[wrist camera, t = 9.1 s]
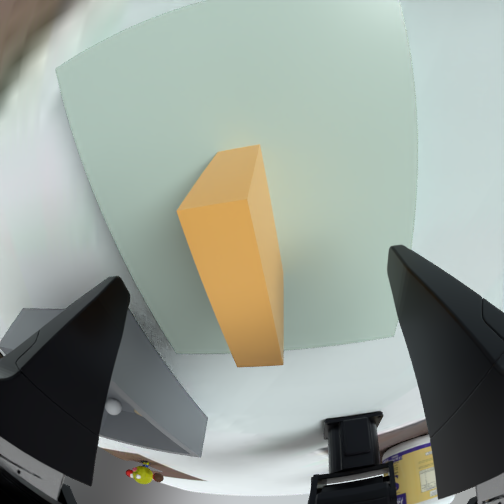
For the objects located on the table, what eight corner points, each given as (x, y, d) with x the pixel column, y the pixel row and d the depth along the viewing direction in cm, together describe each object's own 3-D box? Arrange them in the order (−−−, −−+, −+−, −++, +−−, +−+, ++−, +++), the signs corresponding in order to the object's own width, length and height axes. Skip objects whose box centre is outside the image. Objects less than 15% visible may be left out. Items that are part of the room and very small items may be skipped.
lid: (386, 313, 17) (413, 407, 11) (183, 331, 20) (157, 419, 14) (379, -2, 7) (467, -49, 2) (80, 65, 10) (-33, 89, 4)
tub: (207, 418, 28) (200, 457, 24) (110, 405, 30) (99, 436, 26) (128, 308, 18) (100, 367, 14) (23, 308, 21) (-2, 345, 16)
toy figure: (153, 458, 49) (147, 483, 43) (172, 465, 51) (168, 489, 45) (122, 456, 57) (117, 476, 51) (139, 463, 59) (134, 483, 53)
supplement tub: (387, 442, 33) (394, 535, 19) (454, 423, 31) (469, 509, 17) (376, 459, 40) (380, 533, 26) (433, 444, 37) (442, 515, 23)
